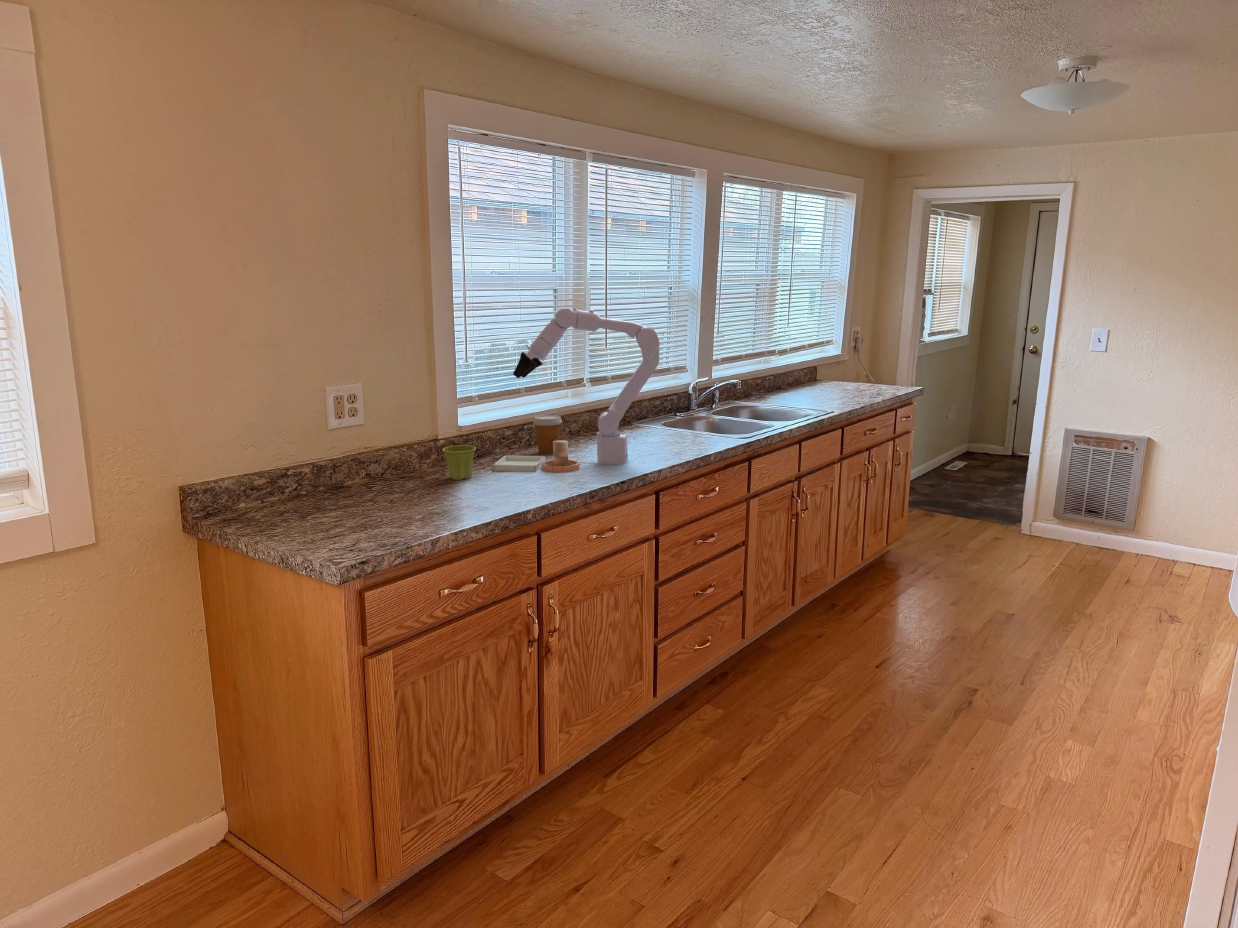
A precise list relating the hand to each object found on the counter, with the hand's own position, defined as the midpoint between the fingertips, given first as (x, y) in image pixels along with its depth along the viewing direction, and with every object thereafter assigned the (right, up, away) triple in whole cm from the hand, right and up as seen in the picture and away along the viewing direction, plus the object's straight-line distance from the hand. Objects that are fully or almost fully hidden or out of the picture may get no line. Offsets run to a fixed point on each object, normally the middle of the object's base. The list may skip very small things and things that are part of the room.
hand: (518, 376), depth 259 cm
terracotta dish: (+13, -28, -3) cm, 32 cm away
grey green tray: (+1, -28, 0) cm, 28 cm away
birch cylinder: (+13, -28, -4) cm, 31 cm away
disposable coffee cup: (+7, -23, +22) cm, 33 cm away
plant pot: (-15, -31, -13) cm, 37 cm away
